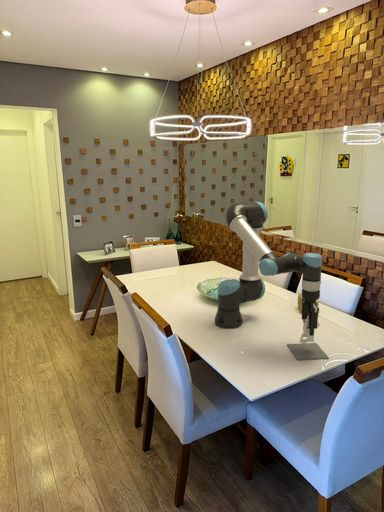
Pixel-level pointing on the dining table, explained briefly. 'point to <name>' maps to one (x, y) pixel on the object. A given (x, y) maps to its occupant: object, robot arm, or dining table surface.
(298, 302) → the cheese
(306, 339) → the figurine
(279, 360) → the dining table surface
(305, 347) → the mat
